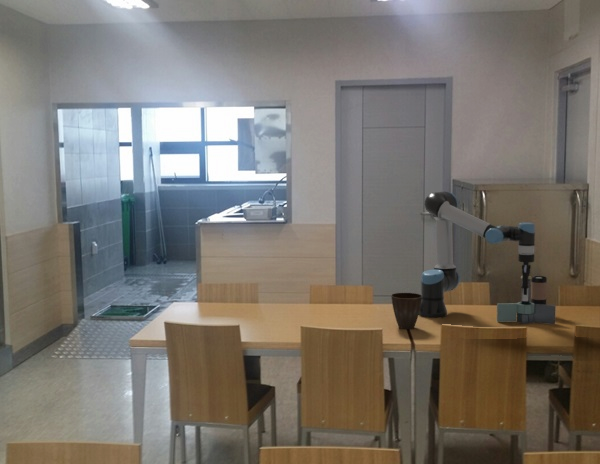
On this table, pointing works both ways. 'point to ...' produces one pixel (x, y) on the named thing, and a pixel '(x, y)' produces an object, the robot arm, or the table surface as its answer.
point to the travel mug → (538, 290)
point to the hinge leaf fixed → (539, 315)
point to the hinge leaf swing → (513, 311)
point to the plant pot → (406, 309)
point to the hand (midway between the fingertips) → (525, 300)
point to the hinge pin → (528, 291)
